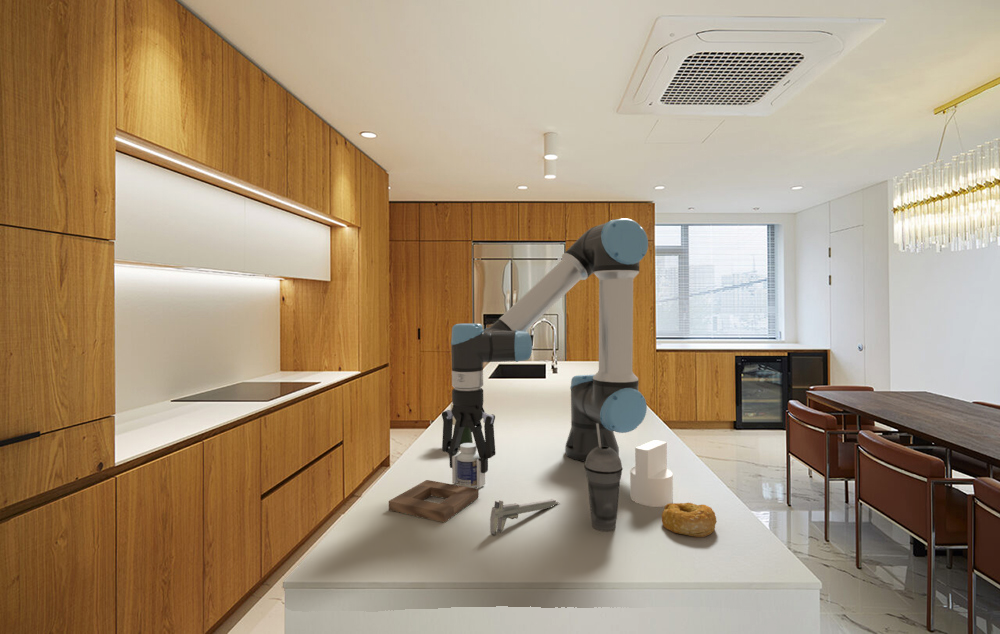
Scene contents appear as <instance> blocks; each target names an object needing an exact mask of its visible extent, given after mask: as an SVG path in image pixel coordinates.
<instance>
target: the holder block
mask: <svg viewBox="0 0 1000 634" xmlns="http://www.w3.org/2000/svg"><path fill="white" fill-rule="evenodd" d="M431 495H432V496H431ZM435 496H437V497H436V498H440V497H443V498H442V499H443V500H442V501H441V502H436V501H435V502H434V501H430V500H429V501H428V500H426V499H428V498H429V497H435ZM427 497H428V498H427ZM478 497H479V488H476V487H475V488H470V487H464V486H458V484H454V483H446V482H441V481H436V480H435V481H434V480H430V479H426V480H424V481H422V482H420V483H418V484H417V485H415V486H413V487H411V488H410V489H408V490H405V491H404V492H402V493H401V494H399V495H396V496H395V497H393V498H392V499H389V500H388V511H390V510H392V511H391V512H394V511H396V512H395V513H399V512H401V513H400V514H403V513H406V514H405V515H408V514H410V515H409V516H412V515H414V516H413V517H417V516H418V517H417V518H421V517H423V518H422V519H426V520H430V519H431V520H430V521H435V520H436V521H435V522H439V521H441V522H440V523H444V522H445V523H446V522H447V521H449V520H450V519H452V518H453V517H454V516H455V514H456V513H457V514H458V513H460V512H462V509H463V508H464V509H465V508H467V507H468V506H469V505H471V504H472V503H474V502H475V501H476V500H478V499H479V498H478ZM425 498H426V499H425ZM445 498H447V499H445ZM477 498H478V499H477ZM424 499H425V500H424ZM474 500H475V501H474ZM473 501H474V502H473ZM471 502H472V503H471ZM470 503H471V504H470ZM468 504H469V505H468ZM467 505H468V506H467ZM466 506H467V507H466ZM464 509H463V510H464ZM459 511H460V512H459ZM457 514H456V515H457ZM452 516H453V517H452ZM451 517H452V518H451ZM448 519H449V520H448Z"/></svg>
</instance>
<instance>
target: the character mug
mask: <svg viewBox="0 0 1000 634" xmlns="http://www.w3.org/2000/svg"><path fill="white" fill-rule="evenodd" d="M452 408H453V404H452V402H451V403H450V409H449V410H452ZM455 423H456V419H455V418H454V416H453V426H455ZM454 430H455V429H454V428H453V430H452V434H453V433H454ZM463 443H474V442H473V433H472V432H471V430H470V428H468V427H465V428H464V430H463V434H462V438H461V441H460V445H461V444H463ZM460 445H459V446H460Z"/></svg>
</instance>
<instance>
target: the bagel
mask: <svg viewBox="0 0 1000 634" xmlns="http://www.w3.org/2000/svg"><path fill="white" fill-rule="evenodd" d="M663 509H664V510H663V511H662V513H661V523H662V525H663V528H664V529H667V530H668V531H670V532H672V533H675V534H680V535H683V536H684V535H685V536H689V537H695V538H705V537H707V536H709V535H712V534H713V532H714V531H715V529H716V525H717V516H716V513H715V511H714V510H713V508H712V507H711V506H709V505H706V504H695V503H692V502H685V503H682V502H681V503H680V502H677V503H675V502H672V503H670V504H667V505H666V506H663Z"/></svg>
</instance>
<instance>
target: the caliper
mask: <svg viewBox="0 0 1000 634" xmlns="http://www.w3.org/2000/svg"><path fill="white" fill-rule="evenodd" d="M558 503H559V502H558V501H556V500H555V499H553V498H551V499H545V500H538V501H534V502H533V501H532V502H528V503H523V504H519V503H509V504H504V501H503V500H498V501H497V500H495V501H494V505H493V506H494V507H491V512H490V519H489V521H490V522H489V524H490V526H489V529H490V534H491V535H494V536H496V535H497V533H499V534H501V533H503V531H504V529H505V525H506V522H507V519H510V520H514V519H518V518H519V515H522V514H526V513H530V512H536V511H541V510H547V508H548V509H550V508H549V507H551V506H553V505H555V504H557V505H559V504H560V503H559V504H558ZM555 506H556V505H555Z"/></svg>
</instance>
